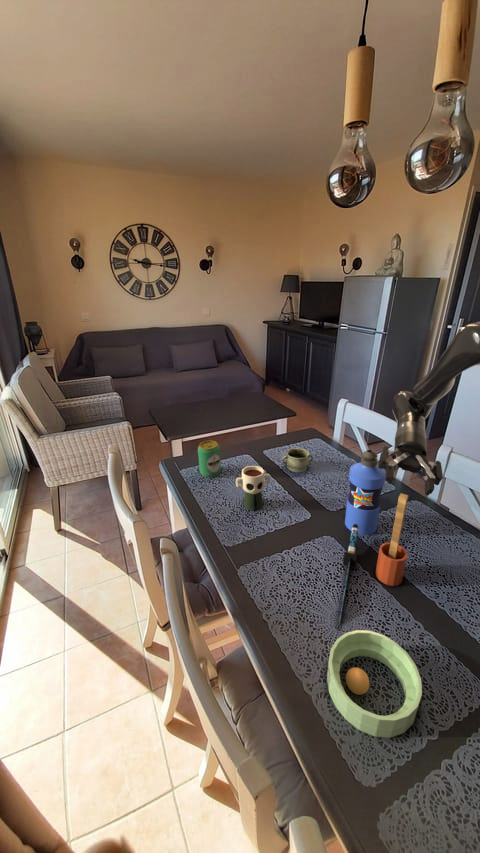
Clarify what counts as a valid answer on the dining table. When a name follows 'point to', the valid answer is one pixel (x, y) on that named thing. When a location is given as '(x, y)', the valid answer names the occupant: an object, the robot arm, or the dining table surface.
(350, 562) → the knife
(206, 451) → the beverage can
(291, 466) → the vessel
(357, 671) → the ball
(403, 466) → the robot arm
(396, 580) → the holder
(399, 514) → the stick
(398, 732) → the green faceted ring
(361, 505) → the water bottle
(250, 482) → the character mug
